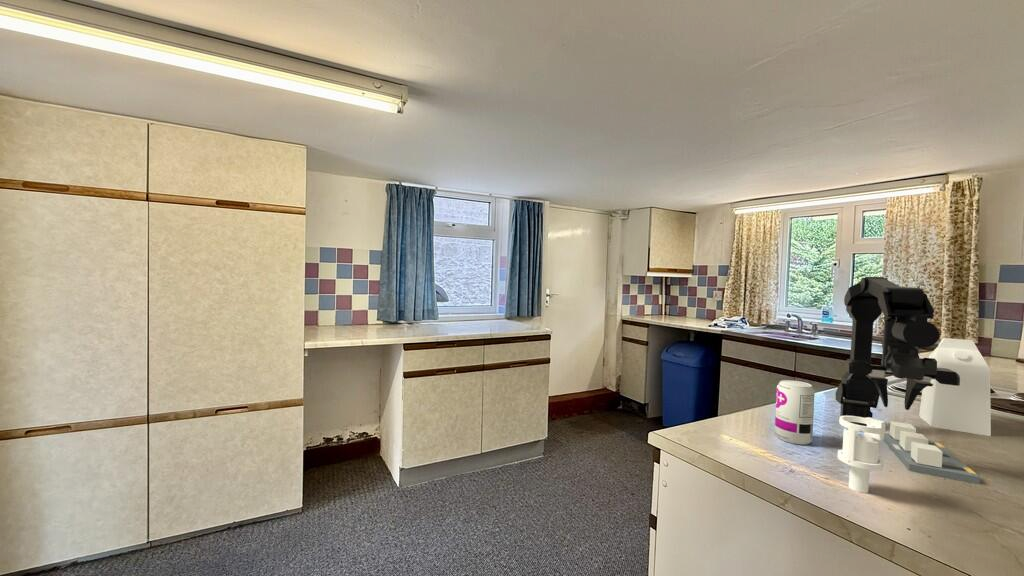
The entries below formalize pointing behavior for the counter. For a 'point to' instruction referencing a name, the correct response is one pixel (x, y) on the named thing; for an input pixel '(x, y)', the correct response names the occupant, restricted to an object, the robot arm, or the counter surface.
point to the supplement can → (794, 412)
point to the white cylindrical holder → (861, 449)
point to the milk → (959, 390)
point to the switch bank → (949, 466)
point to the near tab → (926, 454)
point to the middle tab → (911, 439)
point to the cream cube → (900, 429)
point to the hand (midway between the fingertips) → (896, 408)
